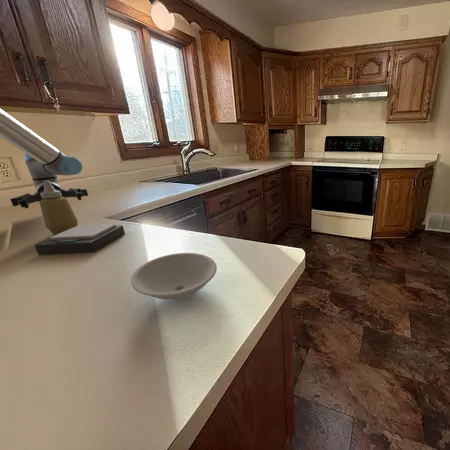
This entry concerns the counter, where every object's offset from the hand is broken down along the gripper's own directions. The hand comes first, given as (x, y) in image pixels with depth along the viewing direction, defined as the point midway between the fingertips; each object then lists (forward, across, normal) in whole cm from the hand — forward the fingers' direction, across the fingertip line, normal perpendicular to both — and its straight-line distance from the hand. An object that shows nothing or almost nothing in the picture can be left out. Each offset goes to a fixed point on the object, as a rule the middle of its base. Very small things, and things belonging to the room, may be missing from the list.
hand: (53, 200), depth 85 cm
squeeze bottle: (+7, 0, -11) cm, 13 cm away
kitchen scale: (+24, -3, -10) cm, 27 cm away
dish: (+73, -12, -11) cm, 75 cm away
